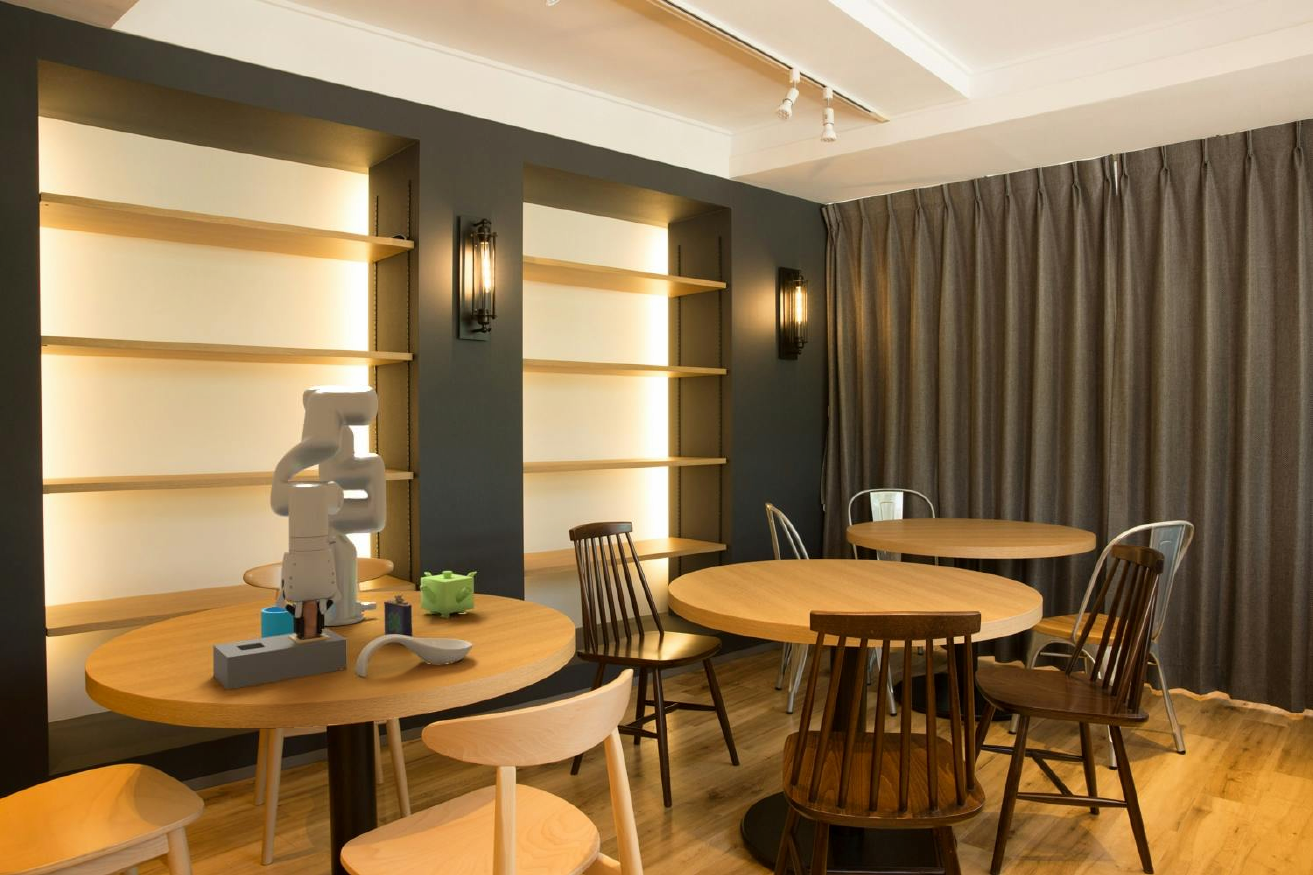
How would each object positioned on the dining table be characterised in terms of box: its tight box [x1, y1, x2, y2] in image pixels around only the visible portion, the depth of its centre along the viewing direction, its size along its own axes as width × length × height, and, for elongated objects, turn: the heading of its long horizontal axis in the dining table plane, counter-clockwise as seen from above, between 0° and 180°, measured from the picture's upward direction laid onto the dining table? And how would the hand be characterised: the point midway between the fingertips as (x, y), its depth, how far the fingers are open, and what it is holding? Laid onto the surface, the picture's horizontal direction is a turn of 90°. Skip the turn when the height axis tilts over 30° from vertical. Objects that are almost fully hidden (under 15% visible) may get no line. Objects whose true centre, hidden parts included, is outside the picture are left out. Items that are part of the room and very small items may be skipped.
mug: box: [260, 605, 294, 638], centre depth 193 cm, size 12×8×8 cm
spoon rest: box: [354, 634, 473, 678], centre depth 175 cm, size 24×12×7 cm, turn 128°
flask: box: [383, 594, 413, 646], centre depth 195 cm, size 9×3×11 cm, turn 50°
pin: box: [301, 600, 317, 640], centre depth 174 cm, size 3×3×10 cm
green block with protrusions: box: [419, 570, 477, 618], centre depth 224 cm, size 15×14×11 cm
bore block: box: [212, 628, 348, 690], centre depth 170 cm, size 22×12×6 cm, turn 129°
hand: (309, 633), depth 174 cm, fingers closed on pin, 3 cm apart
